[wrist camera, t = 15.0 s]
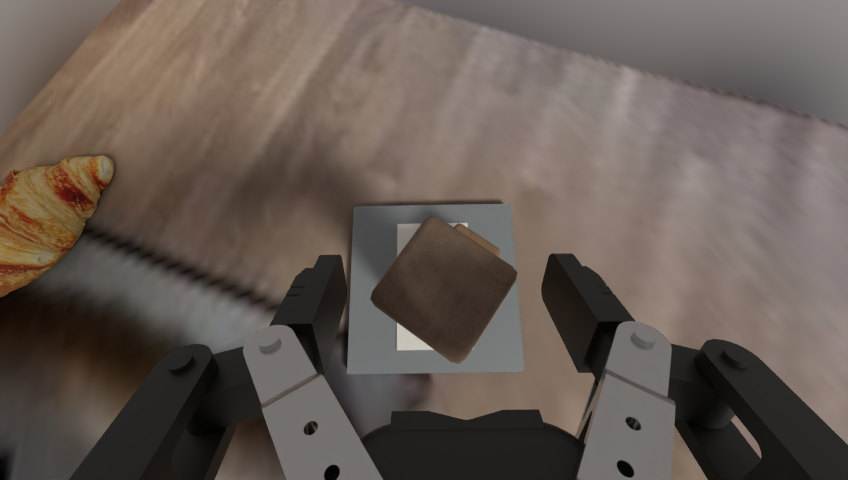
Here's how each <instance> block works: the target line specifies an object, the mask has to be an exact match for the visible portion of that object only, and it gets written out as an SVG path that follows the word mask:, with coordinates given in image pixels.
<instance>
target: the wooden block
mask: <svg viewBox="0 0 848 480" xmlns="http://www.w3.org/2000/svg"><path fill="white" fill-rule="evenodd" d="M499 255H500V249H499V248H498V247H496V246H495V245H493V244H492V243H490V242H489V241H487V240H485V239H484V238H482V237H481V236H479V235H478V234H476V233H475V232H473V231H472V230H470V229H469V228H467V227H466V226H464V225H463V224H460V223H458V224H456V225H455V226H454V227H452V226H451V225H449V224H448V223H446V222H445V221H443V220H442V219H440V218H439V217H436V216H429V217H428V218H426V219H425V220H424V221H423V222H422V224H421V225H420V226H419V228H418V229H417V231H416V232H415V233H414V235H413V236H412V237H411V239H410V240H409V242H408V243H407V244H406V246H405V247H404V248H403V250H402V251H401V252H400V254H399V255H398V257H397V258H396V259H395V261H394V262H393V263H392V265H391V266H390V268H389V269H388V270H387V272H386V273H385V274H384V276H383V277H382V278H381V280H380V281H379V283H378V284H377V285H376V287H375V288H374V289H373V291H372V294H371V298H370V300H371V301H372V303H373V305H374V306H375V307H377V308H378V309H379V310H381V311H382V312H384V313H385V314H386V315H388V316H389V317H390V318H392V319H393V320H394V321H396V322H397V323H398V324H400V325H401V326H403V327H404V328H405V329H407V330H408V331H409V332H411V333H412V334H413V335H415V336H416V337H418V338H419V339H420V340H422V341H423V342H424V343H426V344H427V345H428V346H430V347H431V348H433V349H434V350H435V351H437V352H438V353H439V354H441V355H442V356H443V357H445V358H446V359H448V360H449V361H450V362H452V363H457V364H460V363H461V362H463V361H464V360H466V358H467V357H468V355H469V354H470V352H471V351H472V349H473V347H474V346H475V344H476V343H477V341H478V339H479V338H480V336H481V335H482V333H483V332H484V330H485V328H486V327H487V325H488V324H489V322H490V320H491V319H492V317H493V316H494V314H495V313H496V311H497V309H498V308H499V306H500V305H501V303H502V301H503V300H504V298H505V297H506V295H507V294H508V292H509V290H510V289H511V287H512V286H513V284H514V283H515V281H516V277H517V272H516V270H515V269H514V268H513V266H511V265H510V264H508V263H507V262H505V261H504V260H502V259H501V258H499Z"/></svg>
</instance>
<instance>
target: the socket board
mask: <svg viewBox="0 0 848 480" xmlns="http://www.w3.org/2000/svg"><path fill="white" fill-rule="evenodd" d="M429 216H436V217H439V218H440V219H442V220H443V221H445V222H446V223H448V224H449V225H451V226H452V227H454V226H455V225H456V224H458V223H460V224H463V225H464V226H466V227H467V228H469V229H470V230H472V231H473V232H475V233H476V234H478V235H479V236H481V237H482V238H484V239H485V240H487V241H489V242H490V243H492V244H493V245H495V246H496V247H498V248H499V249H500V255H499V258H501V259H502V260H504V261H505V262H507V263H508V264H510V265H511V266H513V268H514V269H515V270H516V264H515V252H514V240H513V228H512V216H511V204H466V205H406V206H354V209H353V234H352V260H351V285H350V310H349V336H348V361H347V374H399V373H466V372H525V371H524V359H523V347H522V335H521V324H520V312H519V300H518V288H517V277H516V281H515V283H514V284H513V286H512V287H511V289H510V290H509V292H508V294H507V295H506V297H505V298H504V300H503V301H502V303H501V305H500V306H499V308H498V309H497V311H496V313H495V314H494V316H493V317H492V319H491V320H490V322H489V324H488V325H487V327H486V328H485V330H484V332H483V333H482V335H481V336H480V338H479V339H478V341H477V343H476V344H475V346H474V347H473V349H472V351H471V352H470V354H469V355H468V357H467V358H466V360H464V361H463V362H461V363H460V364H457V363H452V362H450V361H449V360H448V359H446V358H445V357H443V356H442V355H441V354H439V353H438V352H437V351H435V350H434V349H433V348H431V347H430V346H428V345H427V344H426V343H424V342H423V341H422V340H420V339H419V338H418V337H416V336H415V335H413V334H412V333H411V332H409V331H408V330H407V329H405V328H404V327H403V326H401V325H400V324H398V323H397V322H396V321H394V320H393V319H392V318H390V317H389V316H388V315H386V314H385V313H384V312H382V311H381V310H379V309H378V308H377V307H375V306H374V305H373V303H372V301H371V300H370V298H371V294H372V291H373V289H374V288H375V287H376V285H377V284H378V283H379V281H380V280H381V278H382V277H383V276H384V274H385V273H386V272H387V270H388V269H389V268H390V266H391V265H392V263H393V262H394V261H395V259H396V258H397V257H398V255H399V254H400V252H401V251H402V250H403V248H404V247H405V246H406V244H407V243H408V242H409V240H410V239H411V237H412V236H413V235H414V233H415V232H416V231H417V229H418V228H419V226H420V225H421V224H422V222H423V221H424V220H425V219H426V218H428V217H429Z"/></svg>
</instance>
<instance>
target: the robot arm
mask: <svg viewBox="0 0 848 480" xmlns="http://www.w3.org/2000/svg"><path fill="white" fill-rule="evenodd" d="M290 287H291V288H290V289H289V290H288V292H287V294H286V297H285V298H284V299H283V301H282V303H281V305H280V307H279V309H278V311H277V312H276V314H275V316H274V318H273V320H272V322H271V324H270V326H268V327H266V328H263V329H261V330H259V331H257V332H256V333H254V334H253V335H252V336H251V337H250V338H249V339H248V340H247V341H246V343H245V345H244V346H243V347H240V348H236V349H232V350H229V351H225V352H221V353H217V354H212V352H211V350H210V349H209V347H207V346H205V345H202V344H193V345H188V346H184V347H181V348H179V349H176V350H175V351H173V352H171V353H169V354H168V355H166V356H165V357H164V358H162V359H161V360H160V361H159V362H158V363H157V364H156V366H155V367H154V368H153V369H152V371H151V372H150V373H149V375H148V376H147V377H146V379H145V380H144V381H143V383H142V384H141V385H140V387H139V388H138V389H137V391H136V392H135V393H134V394H133V396H132V397H131V398H130V400H129V401H128V402H127V404H126V405H125V406H124V408H123V409H122V410H121V412H120V413H119V414H118V416H117V417H116V418H115V420H114V421H113V422H112V424H111V425H110V426H109V428H108V429H107V430H106V431H105V433H104V434H103V435H102V437H101V438H100V439H99V441H98V442H97V443H96V445H95V446H94V447H93V449H92V450H91V451H90V453H89V454H88V455H87V457H86V458H85V459H84V461H83V462H82V463H81V465H80V466H79V467H78V468H77V470H76V471H75V472H74V474H73V475H72V476H71V478H70V479H69V480H214V479H215V477H216V475H217V472H218V470H219V467H220V465H221V463H222V460H223V458H224V456H225V453H226V451H227V448H228V446H229V444H230V441H231V439H232V437H233V434H234V432H235V429H236V427H237V425H238V423H241V422H244V421H247V420H250V419H254V418H257V417H260V416H263V415H264V417H265V420H266V423H267V426H268V429H269V431H270V434H271V437H272V440H273V443H274V445H275V448H276V451H277V454H278V457H279V460H280V462H281V465H282V468H283V471H284V474H285V476H286V479H287V480H671V469H672V453H673V438H674V425H675V427H676V428H677V430H678V432H679V433H680V435H681V437H682V438H683V440H684V441H685V443H686V445H687V446H688V448H689V449H690V451H691V453H692V454H693V456H694V458H695V459H696V461H697V462H698V464H699V466H700V467H701V469H702V471H703V472H704V474H705V475H706V477H707V479H708V480H848V445H847V444H846V443H845V442H844V441H843V440H842V439H841V438H840V437H839V436H838V435H837V434H836V433H835V432H834V431H833V430H832V429H831V428H830V427H829V426H828V425H827V424H826V423H825V422H824V421H823V420H822V419H821V418H820V417H819V416H818V415H817V414H816V413H815V412H814V411H813V410H812V409H811V408H809V407H808V406H807V405H806V404H805V403H804V402H803V401H802V400H801V399H800V398H799V397H798V396H797V395H796V394H795V393H794V392H793V391H792V390H791V389H790V388H789V387H788V386H787V385H786V384H785V383H784V382H783V381H782V380H781V379H780V378H779V377H778V376H777V375H776V374H775V373H774V372H773V371H772V370H771V369H770V368H769V367H768V366H767V365H766V364H765V363H764V362H763V361H762V360H760V359H759V358H758V357H757V356H756V355H754V354H753V353H752V352H750V351H748V350H747V349H745V348H743V347H741V346H739V345H737V344H734V343H732V342H728V341H724V340H718V339H712V340H708V341H706V342H705V343H704V344H703V346H702V347H701V349H700V350H696V349H692V348H687V347H683V346H679V345H674V344H670V342H669V340H668V339H667V338H666V337H665V336H664V335H663V334H662V333H661V332H659V331H658V330H656V329H655V328H653V327H651V326H649V325H646V324H644V323H640V322H636V321H635V320H634V319H633V318H632V316H631V315H630V314H629V312H628V311H627V310H626V309H625V307H624V306H623V305H622V304H621V302H620V301H619V300H618V299H617V297H616V296H615V295H614V294H612V291H611V290H610V288H609V287H608V286H606V283H605V282H604V281H603V280H602V278H601V277H600V276H599V275H598V274H597V273H595V272H594V271H593V270H591V269H590V268H588V267H587V266H582V265H581V264H580V263H579V261H578V260H577V259H576V257H575V256H574V255H573V254H551V255H550V256H549V258H548V262H547V266H546V270H545V274H544V278H543V282H542V289H541V291H542V298H543V301H544V303H545V305H546V307H547V309H548V312H549V314H550V316H551V318H552V320H553V322H554V324H555V326H556V328H557V330H558V332H559V334H560V336H561V338H562V340H563V342H564V344H565V346H566V348H567V350H568V352H569V354H570V356H571V358H572V360H573V363H574V365H575V367H576V369H577V371H578V373H591V372H592V373H593V375H594V377H595V379H594V382H593V384H592V387H591V390H590V393H589V396H588V400H587V403H586V406H585V409H584V412H583V415H582V419H581V422H580V425H579V428H578V431H577V433H576V436H573V435H571V434H570V433H568V432H566V431H565V430H562V429H560V428H558V427H556V426H554V425H551V424H548V423H544V422H543V420H542V417H541V414H540V411H539V410H501V411H498V412H494V413H491V414H488V415H484V416H481V417H477V418H474V419H470V420H462V419H458V418H454V417H450V416H446V415H442V414H438V413H434V412H430V411H394V412H392V416H391V424H387V425H384V426H382V427H380V428H377V429H375V430H373V431H372V432H370V433H368V434H367V435H365V436H364V437H363V438H361V439H359V437H358V435H357V434H356V432H355V430H354V428H353V427H352V425H351V423H350V422H349V420H348V418H347V416H346V415H345V413H344V411H343V409H342V408H341V406H340V404H339V403H338V401H337V399H336V397H335V396H334V394H333V392H332V390H331V389H330V387H329V385H328V384H327V382H326V380H325V378H324V377H323V375H325V373H326V369H327V366H328V362H329V359H330V355H331V352H332V348H333V345H334V341H335V338H336V334H337V331H338V327H339V324H340V321H341V317H342V314H343V310H344V307H345V303H346V297H347V287H346V280H345V274H344V268H343V262H342V257H341V255H320V256H319V257H318V260H317V262H316V264H315V266H314V268H305V269H304V270H303V271H302V272H301V273H300V274H298V275H297V276H296V277H295V279H294V281H293V283H292V285H291V286H290ZM735 415H736V416H737V417H738V418H739V420H740V421H741V422H742V423H743V425H744V426H745V427H746V428H747V430H748V431H749V432H750V433H751V435H752V436H753V437H754V438H755V440H756V441H757V443H758V445H759V447H760V450H761V455H762V457H761V459H760V457H759V456H758V455H757V453H756V452H755V451H754V450H753V448H752V447H751V446H750V444H749V443H748V442H747V441H746V439H745V438H744V437H743V435H742V434H741V433H740V432H739V430H738V429H737V428H736V426H735V425H734V424H733V422H732V421H731V419H732V418H733V417H734V416H735Z"/></svg>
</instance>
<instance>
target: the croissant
mask: <svg viewBox="0 0 848 480" xmlns="http://www.w3.org/2000/svg"><path fill="white" fill-rule="evenodd" d="M113 173H114V164H113V161H112V160H111V159H109V158H108V157H106V156H103V155H99V156H96V157H91V156H88V157H82V156H80V157H74V158H64V159H62V160H61V161H60V163H59V164H57V165H55V166H49V165H48V166H44V167H31V168H26V169H25V170H23V171H15V170H13V171H11V172H10V174H9V175H8V177H7V178H6V180H5V182H4V185H3V186H1V187H0V297H3V296H5V295H7V294H8V293H9V292H11V291H13V290H16V289H18V288H21V287H23V286H26V285H28V284H30V283H31V282H33V281H34V280H36V279H37V278H38V277H40V276H41V275H42V274H43V273H44V272H45V271H47V270H48V269H50V267H51V266H53V265H56V264H57V263H58V262H59V261H60V260H61V259H62V258H63V257H64V256H65V255H66V254H67V253H68V252H69V251H70V250H71V249H72V248H73V246H74V245H75V244H76V242H77V240H78V238H79V237H80V236H81V233H82V231H83V229H84V225H86V223H85V221H86V220H87V219H88V218H90V217H91V216H92V215H93V213H94V211H95V210H96V208H97V203H98V200H99V199H100V191H102V190H103V189H105V188H106V187H108V185H109V183H110V181H111V179H112V176H113Z"/></svg>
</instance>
